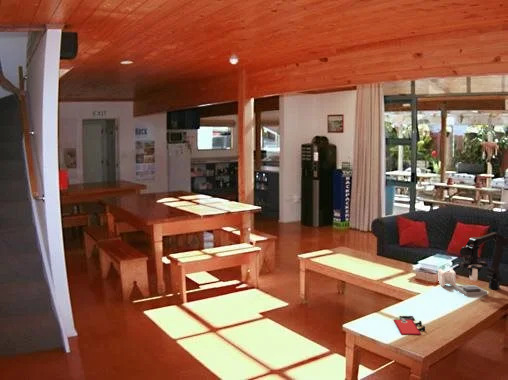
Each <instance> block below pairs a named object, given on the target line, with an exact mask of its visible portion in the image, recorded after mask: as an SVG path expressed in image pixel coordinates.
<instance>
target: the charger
mask: <svg viewBox="0 0 508 380" xmlns="http://www.w3.org/2000/svg"><path fill="white" fill-rule="evenodd" d="M471 268H472V275H471V276H470V274H469V280H471V281H478V277H479V276H478V275H479V273H478V269H476V267H471Z"/></svg>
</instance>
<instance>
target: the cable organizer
mask: <svg viewBox="0 0 508 380" xmlns="http://www.w3.org/2000/svg"><path fill="white" fill-rule="evenodd" d="M437 270H438V272H437V273H438V275H437V277H438V278H437V281H439V282H438V284H439V285H440V287H443V288H444V287H445V286H446V285H450V286H452V287H453V288H454V286H457V284H456V282H457V280H456V278H457V273H456V271H455V270H454V269H453V268H449V271H444V270H443V269H442V268H438V269H437Z"/></svg>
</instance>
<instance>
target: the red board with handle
mask: <svg viewBox="0 0 508 380" xmlns="http://www.w3.org/2000/svg"><path fill="white" fill-rule="evenodd" d="M398 317H399V319H393V322H394V324H395V326H396V328H397V329H398V331H399V333H400V335H402V336H422V333H421V331H422V332H425V331H426V327H425V325H422V320H419V321H418V322H414V320H415V317H414V316H413V315H399V316H398ZM418 325H419V327H420V328H418V327H417V326H418Z"/></svg>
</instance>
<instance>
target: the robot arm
mask: <svg viewBox="0 0 508 380" xmlns="http://www.w3.org/2000/svg"><path fill="white" fill-rule="evenodd" d="M492 240H494V241H495V247H496V248H495V252H494V255H493V259H492V262H491V265H490V267H488V266H489V265H488V264H489V263H487V262H485V261H479V259H480V257H479V250H481V249H482V247H480V246H481V245H482V244H484V243H486V242H489V241H492ZM507 247H508V237H505V236H503V235H501V234H499V232H493V231H492V232H491V233H487V234H484V235H481V236H477V237H475V236H474V237H469V239H468V241H467V243H466V244H465V246H461V248H460V250H459V255H460V256H461V257H462V259H463V260H462V261H460V263H459V266H460V267H461V268H463V269H465V268H466V269H467V271H468V273H469V274H470V276H471V275H472V268H473V267H474V268H476V269H478V274H479V273H480V271H481V270H482V269H483V268H486V267H487V268H486V272H485V273H486V274H485V275H486V276H487V279H488V280H489V282H488V288H489V289H491V290H501V287H500V286H501V285H500V283H501V282H503V278H502V277H501V276H500V269H499V267H500V264H501V260H502V257H503V253H504V250H505V249H506V248H507Z"/></svg>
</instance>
